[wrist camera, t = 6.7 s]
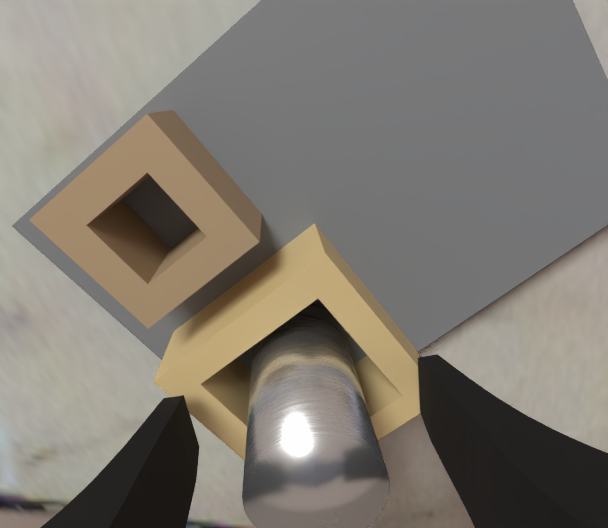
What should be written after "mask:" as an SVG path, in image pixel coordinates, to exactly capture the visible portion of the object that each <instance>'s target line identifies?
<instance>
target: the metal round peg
mask: <svg viewBox="0 0 608 528" xmlns="http://www.w3.org/2000/svg"><path fill="white" fill-rule="evenodd" d="M389 490H390V483H389V477H388V473H387V470H386V466H385V463H384V460H383V457H382V453H381V450H380V447H379V444H378V441H377V437H376V434H375V431H374V428H373V424H372V421H371V418H370V415H369V412H368V408H367V405H366V402H365V399H364V395H363V392H362V389H361V386H360V383H359V379H358V376H357V373H356V370H355V366H354V363H353V360H352V357H351V354H350V350H349V347H348V344H347V341H346V337H345V334H344V331H343V328H342V325H341V324H340V323H339V322H338V321H337V319H336V318H335V317H334V316H333V315H332V314H331V313H330V311H329V310H328V309H327V308H326V307H325V306H324V304H323V303H322V302H321V301H320V300H318V299H317V300H315V301H314V302H312V303H311V304H310V305H308V306H307V307H306V308H304V309H303V310H301V311H300V312H299V313H297V314H296V315H295V316H293V317H292V318H291V319H289V320H288V321H286V322H285V323H284V324H282V325H281V326H280V327H278V328H277V329H275V330H274V331H273V332H271V333H270V334H269V335H267V336H266V337H264V338H263V339H262V340H260V341H259V342H258V343H256V344H255V345H253V352H252V366H251V380H250V394H249V408H248V422H247V436H246V450H245V465H244V479H243V493H242V499H243V506H244V510H245V512H246V514H247V516H248V518H249V519H250V521H251V522H252V523H253V524H254V526H255V527H256V528H366V527H368V526H369V525H370V524H371V523H372V522H373V521H374V520H375V519H376V518H377V517H378V516H379V515H380V513H381V512H382V510H383V508H384V507H385V504H386V502H387V500H388V496H389Z"/></svg>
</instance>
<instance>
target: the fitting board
mask: <svg viewBox="0 0 608 528" xmlns="http://www.w3.org/2000/svg"><path fill="white" fill-rule="evenodd" d="M607 225H608V80H607V77H606V75H605V73H604V71H603V68H602V66H601V64H600V61H599V59H598V57H597V55H596V52H595V50H594V48H593V45H592V43H591V41H590V39H589V36H588V34H587V32H586V30H585V27H584V25H583V23H582V20H581V18H580V16H579V14H578V11H577V9H576V7H575V5H574V2H573V0H261V1H260V2H259V3H258V4H257V5H256V6H255V7H253V8H252V9H251V10H250V11H249V12H248V13H247V14H246V15H245V16H243V17H242V18H241V19H240V20H239V21H238V22H237V23H236V24H235V25H234V26H232V27H231V28H230V29H229V30H228V31H227V32H226V33H225V34H224V35H222V36H221V37H220V38H219V39H218V40H217V41H216V42H215V43H214V44H213V45H211V46H210V47H209V48H208V49H207V50H206V51H205V52H204V53H203V54H201V55H200V56H199V57H198V58H197V59H196V60H195V61H194V62H193V63H192V64H190V65H189V66H188V67H187V68H186V69H185V70H184V71H183V72H182V73H180V74H179V75H178V76H177V77H176V78H175V79H174V80H173V81H172V82H171V83H169V84H168V85H167V86H166V87H165V88H164V89H163V90H162V91H161V92H159V93H158V94H157V95H156V96H155V97H154V98H153V99H152V100H151V101H150V102H148V103H147V104H146V105H145V106H144V107H143V108H142V109H141V110H140V111H138V112H137V113H136V114H135V115H134V116H133V117H132V118H131V119H130V120H129V121H127V122H126V123H125V124H124V125H123V126H122V127H121V128H120V129H119V130H117V131H116V132H115V133H114V134H113V135H112V136H111V137H110V138H109V139H108V140H106V141H105V142H104V143H103V144H102V145H101V146H100V147H99V148H98V149H96V150H95V151H94V152H93V153H92V154H91V155H90V156H89V157H88V158H87V159H85V160H84V161H83V162H82V163H81V164H80V165H79V166H78V167H77V168H75V169H74V170H73V171H72V172H71V173H70V174H69V175H68V176H67V177H66V178H64V179H63V180H62V181H61V182H60V183H59V184H58V185H57V186H56V187H54V188H53V189H52V190H51V191H50V192H49V193H48V194H47V195H46V196H45V197H43V198H42V199H41V200H40V201H39V202H38V203H37V204H36V205H35V206H33V207H32V208H31V209H30V210H29V211H28V212H27V213H26V214H25V215H24V216H22V217H21V218H20V219H19V220H18V221H17V222H16V223H15V224H14V225H12V227H13V228H15V229H16V230H17V231H18V232H19V233H20V234H21V235H22V236H24V237H25V238H26V239H27V240H28V241H29V242H30V243H31V244H32V245H34V246H35V247H36V248H37V249H38V250H39V251H40V252H41V253H43V254H44V255H45V256H46V257H47V258H48V259H49V260H50V261H52V262H53V263H54V264H55V265H56V266H57V267H58V268H59V269H60V270H62V271H63V272H64V273H65V274H66V275H67V276H68V277H69V278H71V279H72V280H73V281H74V282H75V283H76V284H77V285H78V286H80V287H81V288H82V289H83V290H84V291H85V292H86V293H87V294H88V295H90V296H91V297H92V298H93V299H94V300H95V301H96V302H97V303H99V304H100V305H101V306H102V307H103V308H104V309H105V310H106V311H108V312H109V313H110V314H111V315H112V316H113V317H114V318H115V319H116V320H118V321H119V322H120V323H121V324H122V325H123V326H124V327H125V328H127V329H128V330H129V331H130V332H131V333H132V334H133V335H134V336H136V337H137V338H138V339H139V340H140V341H141V342H142V343H143V344H144V345H146V346H147V347H148V348H149V349H150V350H151V351H152V352H153V353H155V354H156V355H157V356H158V357H159V358H160V359H161V360H162V361H161V364H160V366H159V369H158V371H157V374H156V376H155V379H154V381H153V382H154V383H155V384H157V385H158V386H159V387H160V388H161V389H162V390H163V391H165V392H166V393H167V394H168V395H169V396H170V397H176V396H182V395H184V398H185V401H186V404H187V408H188V411H189V413H190V414H191V415H192V416H194V417H195V418H196V419H197V420H198V421H199V422H201V423H202V424H203V425H204V426H205V427H206V428H208V429H209V430H210V431H211V432H212V433H213V434H215V435H216V436H217V437H218V438H219V439H220V440H221V441H223V442H224V443H225V444H226V445H227V446H228V447H230V448H231V449H232V450H233V451H234V452H235V453H237V454H238V455H239V456H240V457H241V458H242V459H244V460H245V450H246V436H247V422H248V408H249V394H250V380H251V366H252V352H253V345H255V344H256V343H258V342H259V341H260V340H262V339H263V338H264V337H266V336H267V335H269V334H270V333H271V332H273V331H274V330H275V329H277V328H278V327H280V326H281V325H282V324H284V323H285V322H286V321H288V320H289V319H291V318H292V317H293V316H295V315H296V314H297V313H299V312H300V311H301V310H303V309H304V308H306V307H307V306H308V305H310V304H311V303H312V302H314V301H315V300H317V299H318V300H320V301H321V302H322V303H323V304H324V306H325V307H326V308H327V309H328V310H329V311H330V313H331V314H332V315H333V316H334V317H335V318H336V319H337V321H338V322H339V323H340V324H341V325H342V328H343V331H344V334H345V337H346V341H347V344H348V347H349V350H350V354H351V357H352V360H353V363H354V366H355V370H356V373H357V376H358V379H359V383H360V386H361V389H362V392H363V395H364V399H365V402H366V405H367V408H368V412H369V415H370V418H371V421H372V424H373V428H374V431H375V434H376V437H377V441H378V440H379V439H381V438H382V437H384V436H386V435H387V434H389V433H390V432H392V431H393V430H395V429H397V428H398V427H400V426H401V425H403V424H404V423H406V422H407V421H409V420H411V419H412V418H414V417H415V416H417V415H418V414H420V413H421V412H420V400H419V377H418V358H419V357H420V355H419V353H418V351H420V350H421V349H423V348H424V347H426V346H427V345H429V344H430V343H432V342H433V341H435V340H436V339H438V338H439V337H441V336H442V335H444V334H445V333H447V332H448V331H450V330H451V329H453V328H454V327H456V326H457V325H459V324H460V323H462V322H463V321H465V320H466V319H468V318H469V317H471V316H472V315H474V314H475V313H477V312H478V311H480V310H481V309H483V308H484V307H486V306H487V305H489V304H490V303H492V302H493V301H495V300H496V299H498V298H499V297H501V296H502V295H504V294H505V293H507V292H508V291H510V290H511V289H513V288H514V287H516V286H517V285H519V284H520V283H522V282H523V281H525V280H526V279H528V278H529V277H531V276H532V275H534V274H535V273H537V272H538V271H540V270H541V269H543V268H544V267H546V266H547V265H549V264H550V263H551V262H553V261H554V260H556V259H557V258H559V257H560V256H562V255H563V254H565V253H566V252H568V251H569V250H571V249H572V248H574V247H575V246H577V245H578V244H580V243H581V242H583V241H584V240H586V239H587V238H589V237H590V236H592V235H593V234H595V233H596V232H598V231H599V230H601V229H602V228H604V227H605V226H607Z"/></svg>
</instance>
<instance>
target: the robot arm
mask: <svg viewBox="0 0 608 528" xmlns="http://www.w3.org/2000/svg"><path fill="white" fill-rule="evenodd" d="M418 377H419V400H420V412H421V415H422V418H423V421H424V423H425V426H426V429H427V431H428V434H429V437H430V439H431V442H432V444H433V446H434V448H435V450H436V452H437V454H438V456H439V458H440V459H441V461H442V463H443V465H444V467H445V469H446V471H447V473H448V475H449V477H450V479H451V481H452V483H453V485H454V486H455V488H456V490H457V492H458V494H459V496H460V498H461V500H462V502H463V504H464V506H465V508H466V510H467V512H468V514H469V516H470V518H471V520H472V522H473V524H474V527H475V528H608V453H606V452H603V451H601V450H598V449H596V448H593V447H591V446H589V445H586V444H584V443H582V442H579V441H577V440H575V439H572V438H570V437H568V436H566V435H564V434H562V433H559V432H557V431H555V430H553V429H551V428H549V427H547V426H545V425H544V424H542V423H540V422H538V421H536V420H534V419H532V418H530V417H528V416H527V415H525V414H523V413H521V412H520V411H518V410H516V409H515V408H513V407H511V406H510V405H508V404H506V403H505V402H503V401H502V400H500V399H498V398H497V397H495V396H494V395H492V394H491V393H489V392H488V391H486V390H485V389H483V388H482V387H481V386H479V385H478V384H476V383H475V382H473V381H472V380H471V379H469V378H468V377H467V376H465V375H464V374H463V373H461V372H460V371H459V370H457V369H456V368H455V367H453V366H452V365H451V364H449V363H448V362H447V361H445V360H444V359H443V358H441V357H440V356H439V355H432V356H425V357H419V358H418ZM198 455H199V444H198V441H197V438H196V434H195V431H194V428H193V424H192V421H191V418H190V414H189V411H188V408H187V404H186V401H185V398H184V395H182V396H176V397H169V398H164V399H163V400H162V401H161V402H160V403H159V405H158V406H157V407H156V408H155V410H154V411H153V412H152V413H151V414H150V416H149V417H148V418H147V419H146V421H145V422H144V423H143V424H142V426H141V427H140V428H139V429H138V430H137V432H136V433H135V434H134V435H133V436H132V438H131V439H130V440H129V441H128V442H127V444H126V445H125V446H124V447H123V448H122V449H121V451H120V452H119V453H118V454H117V455H116V456H115V457H114V458H113V459H112V460H111V461H110V463H109V464H108V465H107V466H106V467H105V468H104V469H103V470H102V471H101V472H100V473H99V475H98V476H97V477H96V478H95V479H94V480H93V481H92V482H91V483H90V484H89V485H88V486H87V487H86V488H85V489H84V490H83V491H82V492H81V493H79V494H78V495H77V496H76V497H75V498H74V499H73V500H72V501H71V502H70V503H69V504H68V505H67V506H66V507H64V508H63V509H62V510H61V511H60V512H59V513H58V514H56V515H55V516H54V517H53V518H52V519H50V520H49V521H48V522H47V523H46V524H44V525H43V526H42V527H41V528H186V523H187V519H188V515H189V510H190V506H191V501H192V497H193V492H194V487H195V483H196V476H197V466H198Z"/></svg>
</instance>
